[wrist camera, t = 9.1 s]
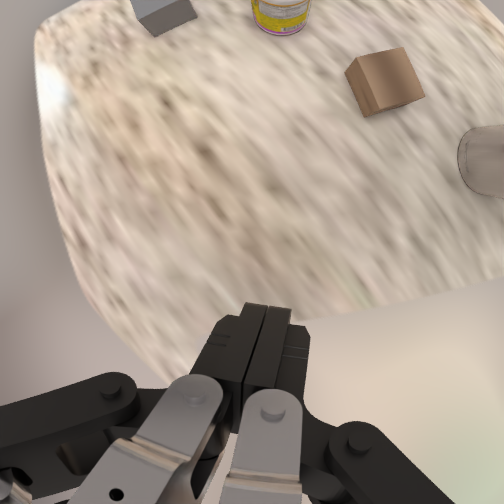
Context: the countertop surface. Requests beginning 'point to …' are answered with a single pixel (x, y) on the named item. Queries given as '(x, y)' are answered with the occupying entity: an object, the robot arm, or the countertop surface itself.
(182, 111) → the countertop surface
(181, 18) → the charcoal block
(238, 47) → the countertop surface
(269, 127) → the countertop surface
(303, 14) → the supplement bottle
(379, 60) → the walnut block
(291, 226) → the countertop surface
